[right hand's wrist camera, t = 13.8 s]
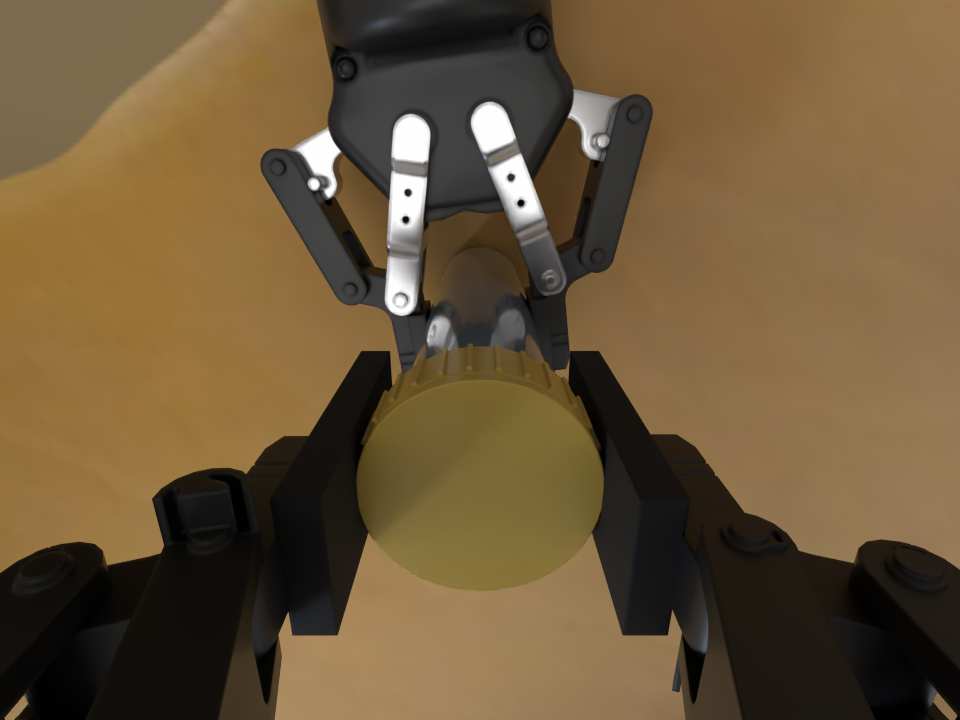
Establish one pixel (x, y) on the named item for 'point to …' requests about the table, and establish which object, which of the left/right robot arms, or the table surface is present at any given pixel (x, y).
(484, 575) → the lid
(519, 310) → the bottle
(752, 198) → the table surface
